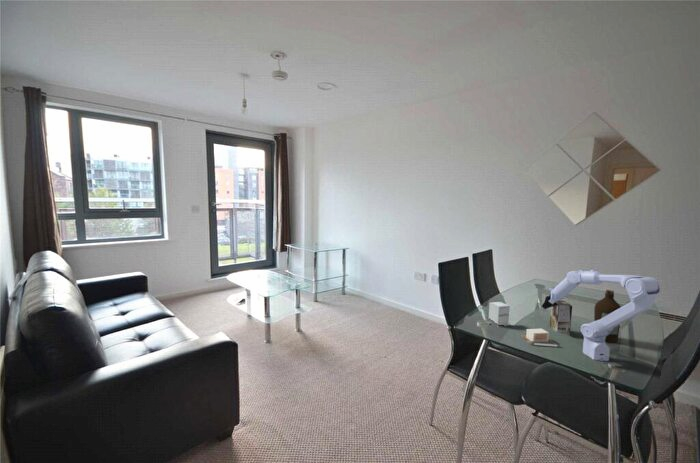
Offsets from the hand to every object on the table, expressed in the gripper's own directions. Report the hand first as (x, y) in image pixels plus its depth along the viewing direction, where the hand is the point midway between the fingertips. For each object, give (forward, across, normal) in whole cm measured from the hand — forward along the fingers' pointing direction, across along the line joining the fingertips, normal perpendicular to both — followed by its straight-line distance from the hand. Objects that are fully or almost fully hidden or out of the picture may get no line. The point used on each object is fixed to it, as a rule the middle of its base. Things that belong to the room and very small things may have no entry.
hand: (546, 303), depth 157 cm
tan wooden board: (+8, +18, +8) cm, 21 cm away
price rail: (+4, +21, +10) cm, 24 cm away
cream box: (+7, +17, +7) cm, 20 cm away
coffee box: (+13, -5, +14) cm, 20 cm away
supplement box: (+23, +12, -8) cm, 27 cm away
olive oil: (+5, -14, +30) cm, 33 cm away
